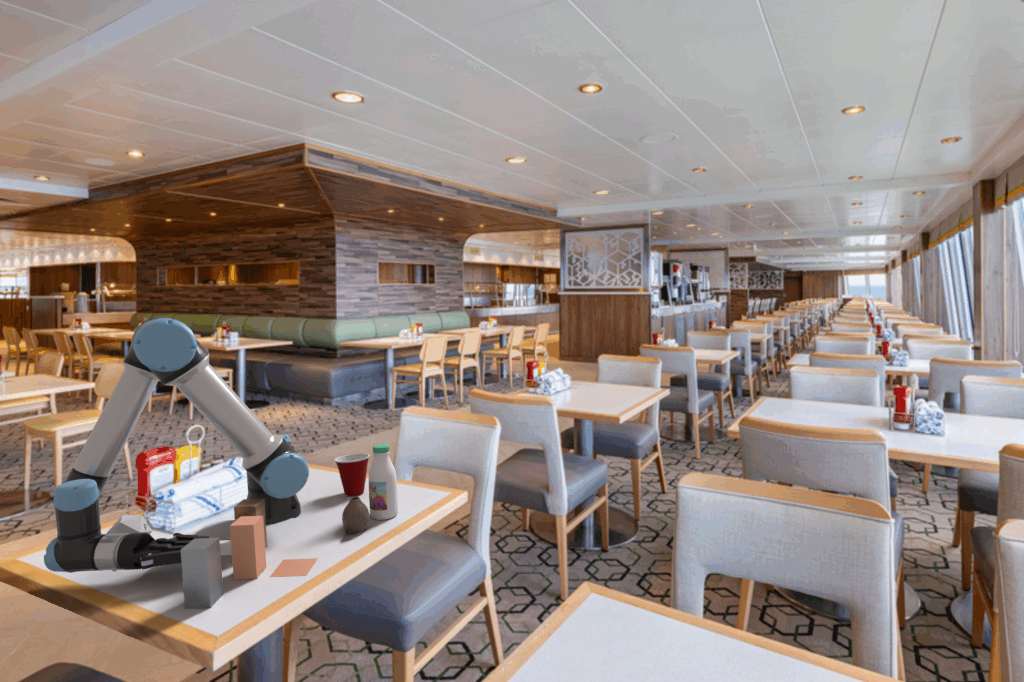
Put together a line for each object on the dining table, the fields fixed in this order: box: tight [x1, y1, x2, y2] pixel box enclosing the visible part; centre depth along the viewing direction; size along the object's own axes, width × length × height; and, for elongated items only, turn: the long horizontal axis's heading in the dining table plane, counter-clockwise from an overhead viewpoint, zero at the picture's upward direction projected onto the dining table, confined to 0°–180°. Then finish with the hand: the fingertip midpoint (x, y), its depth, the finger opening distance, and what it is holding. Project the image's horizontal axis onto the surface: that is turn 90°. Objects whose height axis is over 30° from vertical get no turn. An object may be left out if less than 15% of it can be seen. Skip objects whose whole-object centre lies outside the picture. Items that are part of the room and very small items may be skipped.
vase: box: [341, 496, 370, 535], centre depth 145 cm, size 7×7×9 cm
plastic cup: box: [333, 453, 371, 498], centre depth 173 cm, size 11×11×12 cm
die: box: [105, 514, 153, 535], centre depth 139 cm, size 8×9×10 cm
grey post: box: [181, 537, 224, 610], centre depth 110 cm, size 5×5×12 cm
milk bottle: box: [368, 443, 399, 521], centre depth 154 cm, size 8×8×20 cm
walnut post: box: [233, 498, 268, 549], centre depth 132 cm, size 5×5×12 cm
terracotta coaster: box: [269, 557, 319, 578], centre depth 124 cm, size 8×8×1 cm
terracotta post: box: [229, 516, 267, 580], centre depth 121 cm, size 5×5×12 cm
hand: (235, 547), depth 121 cm, fingers closed
